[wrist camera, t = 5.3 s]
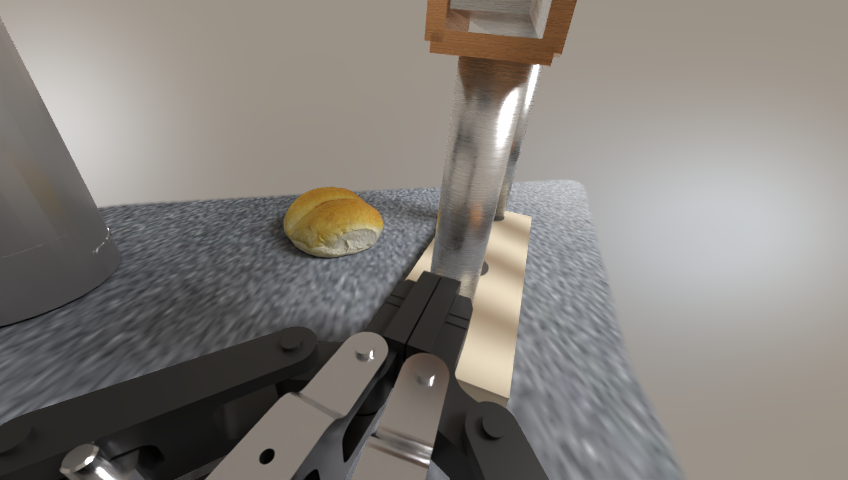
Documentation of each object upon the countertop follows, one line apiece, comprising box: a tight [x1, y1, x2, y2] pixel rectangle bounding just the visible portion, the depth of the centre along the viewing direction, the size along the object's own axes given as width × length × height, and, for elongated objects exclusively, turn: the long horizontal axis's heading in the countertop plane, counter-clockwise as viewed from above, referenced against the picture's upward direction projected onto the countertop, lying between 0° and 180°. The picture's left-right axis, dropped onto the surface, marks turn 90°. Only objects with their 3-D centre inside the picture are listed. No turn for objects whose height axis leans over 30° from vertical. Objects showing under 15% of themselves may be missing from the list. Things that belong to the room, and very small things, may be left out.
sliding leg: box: [425, 0, 577, 306], centre depth 13 cm, size 3×4×17 cm
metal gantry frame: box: [450, 0, 552, 220], centre depth 19 cm, size 22×3×19 cm, turn 160°
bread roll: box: [284, 187, 383, 258], centre depth 28 cm, size 8×9×4 cm
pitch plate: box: [406, 211, 532, 407], centre depth 25 cm, size 22×8×1 cm, turn 160°
